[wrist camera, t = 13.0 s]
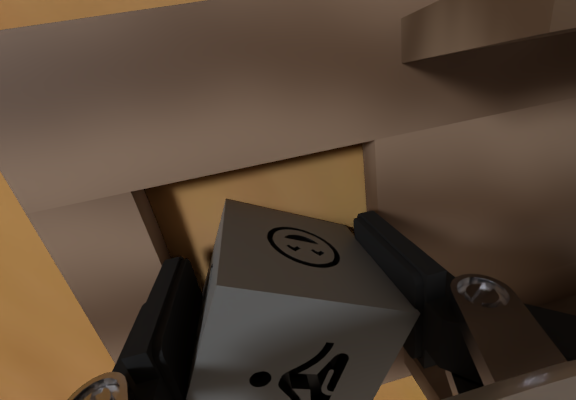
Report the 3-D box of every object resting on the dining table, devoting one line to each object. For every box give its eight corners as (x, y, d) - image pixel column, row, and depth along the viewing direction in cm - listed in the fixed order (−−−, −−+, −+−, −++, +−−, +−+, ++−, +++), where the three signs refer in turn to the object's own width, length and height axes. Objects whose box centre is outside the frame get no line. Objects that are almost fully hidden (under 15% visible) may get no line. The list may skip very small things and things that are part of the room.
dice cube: (307, 319, 13) (347, 445, 8) (198, 306, 11) (173, 447, 7) (345, 225, 11) (420, 313, 7) (225, 198, 10) (216, 285, 5)
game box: (-38, 48, 7) (-609, -55, 2) (760, -70, 10) (1255, -229, 5) (172, 427, 14) (136, 612, 9) (623, 290, 16) (787, 371, 12)
